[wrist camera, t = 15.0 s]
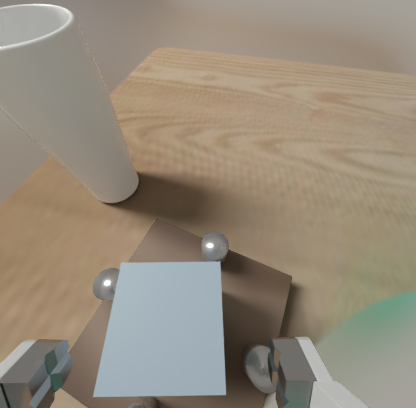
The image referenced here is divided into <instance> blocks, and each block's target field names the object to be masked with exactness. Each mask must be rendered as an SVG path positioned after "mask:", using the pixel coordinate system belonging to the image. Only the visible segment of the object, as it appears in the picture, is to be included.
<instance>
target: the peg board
mask: <svg viewBox="0 0 416 408" xmlns="http://www.w3.org/2000/svg"><path fill="white" fill-rule="evenodd" d="M228 247H229V244H228V240H227V238H226V237H225V236H224V235H223V234H221V233H219V232H211V233H208V234H207V235H205V236H204V238H201V237H198V236H196V235H193V234H191V233H189V232H186V231H184V230H182V229H179V228H177V227H175V226H172V225H170V224H168V223H165V222H163V221H161V220H158V219H156V220H155V222H154V223H153V225H152V226H151V228H150V229H149V231H148V233H147V234H146V236H145V237H144V239H143V240H142V242H141V243H140V245H139V246H138V248H137V249H136V251H135V252H134V254H133V255H132V257H131V259H130V260H129V262H128V263H144V262H220V265H221V288H222V311H223V335H224V358H225V381H226V395H198V396H128V397H93V394H94V389H95V385H96V380H97V375H98V370H99V366H100V361H101V356H102V352H103V347H104V342H105V337H106V333H107V328H108V323H109V319H110V314H111V309H112V304H113V300H114V295H115V290H116V286H117V281H118V276H119V271H120V270H118V269H115V268H109V269H106V270H104V271H103V272H101V273H100V274H99V275H98V276H97V278H96V279H95V281H94V285H93V291H94V294H95V296H96V297H97V298H99V299H101V300H103V301H102V303H101V304H100V306H99V307H98V309H97V310H96V312H95V314H94V315H93V317H92V318H91V320H90V321H89V323H88V324H87V326H86V327H85V329H84V330H83V332H82V333H81V335H80V336H79V338H78V340H77V341H76V343H75V344H74V346H73V347H72V349H71V350H70V352H69V354H70V355H71V356H72V368H71V371H70V374H69V377H68V378H67V380H66V382H65V383H64V385H63V386H62V387H61V388H62V389H63V390H64V391H66V392H67V393H68V394H70V395H71V396H72V397H74V398H75V399H77V400H78V401H79V402H81V403H82V404H83V405H85V406H86V407H88V408H263V405H264V401H265V396H266V393H274V392H276V388H275V387H274V386H273V385H272V383H271V379H270V375H269V370H268V353H269V352H270V348H269V345H268V344H269V339H270V337H279V334H280V329H281V325H282V320H283V316H284V311H285V307H286V302H287V298H288V293H289V289H290V284H291V280H292V276H290V275H287V274H285V273H283V272H280V271H278V270H275V269H273V268H271V267H268V266H266V265H264V264H261V263H259V262H257V261H254V260H252V259H250V258H247V257H245V256H243V255H240V254H238V253H236V252H233V251H231V250H229V249H228Z"/></svg>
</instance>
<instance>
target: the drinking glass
mask: <svg viewBox="0 0 416 408" xmlns="http://www.w3.org/2000/svg"><path fill="white" fill-rule="evenodd" d="M0 109H1V110H2V111H3V112H4V113H5V114H6V115H7V116H8V117H9V118H10V119H11V120H12V121H13V122H14V123H15V124H16V125H17V126H19V127H20V128H21V129H22V130H23V131H24V132H25V133H26V134H27V135H29V137H31V138H32V139H33V140H34V141H35V142H36V143H37V144H38V145H40V146H41V147H42V148H43V149H44V150H45V151H47V153H48V154H50V155H51V156H52V157H53V158H54V159H55V160H56V161H57V162H58V163H60V164H61V165H62V166H63V167H64V168H65V169H66V170H67V171H68V172H70V173H71V174H72V175H73V176H74V177H75V178H76V179H77V180H78V181H79V182H81V183H82V184H83V185H84V186H85V187H86V188H87V189H88V190H89V191H90V192H91V193H92V195H93V196H94V197H95V198H96V199H98V200H100V201H102V202H105V203H117V202H121V201H123V200H125V199H127V198H129V197H130V196H131V195H132V194H133V193H134V192H135V191H136V189H137V187H138V183H139V178H138V174H137V172H136V170H135V168H134V166H133V163H132V160H131V157H130V154H129V152H128V149H127V146H126V143H125V140H124V137H123V134H122V131H121V128H120V125H119V122H118V119H117V116H116V113H115V110H114V107H113V104H112V101H111V98H110V96H109V93H108V90H107V87H106V85H105V82H104V79H103V77H102V74H101V72H100V70H99V67H98V65H97V63H96V60H95V58H94V56H93V54H92V51H91V49H90V47H89V45H88V43H87V41H86V39H85V36H84V34H83V33H82V30H81V28H80V26H79V24H78V22H77V20H76V18H75V16H74V14H73V13H72V12H71V11H69V10H68V9H66V8H64V7H61V6H56V5H49V4H24V5H14V6H7V7H1V8H0Z"/></svg>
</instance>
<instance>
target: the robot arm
mask: <svg viewBox="0 0 416 408" xmlns="http://www.w3.org/2000/svg"><path fill="white" fill-rule="evenodd" d="M268 345H269V348H270V352H269V353H268V370H269V375H270V379H271V383H272V385H273V386H274V387H275V388H276V401H277V405H278V408H369V407H368V406H367V405H366V404H365V403H363V402H362V401H361V400H360V399H358V398H357V397H356V396H355V395H354V394H353V393H352V392H350V391H349V390H348V389H347V388H346V387H344V386H343V385H342V384H341V383H340V382H338V381H334V380H333V379H332V377H331V375H330V374H329V372H328V370H327V368H326V366H325V365H324V363H323V361H322V359H321V357H320V356H319V354H318V352H317V350H316V348H315V347H314V345H313V343H312V341H311V340H310V338H308V337H270V339H269V344H268ZM68 348H69V344H68V340H48V339H27V340H26V341H24V342H22V343H21V344H20V345H19V346H18V347H17V348H16V349H15V350H14V351H13V352H12V353H11V354H10V355H9V356H8V357H7V358H6V359H5V360H4V361H3V362H2V363H1V364H0V408H49V407H50V406H51V404H52V403H53V401H54V395H55V392H56V391H57V390H58V389H60V388H61V387H62V386H63V385H64V383H65V382H66V380H67V378H68V377H69V374H70V371H71V368H72V356H71V355H70V354H69V353H68V352H67V350H68Z"/></svg>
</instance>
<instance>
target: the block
mask: <svg viewBox="0 0 416 408" xmlns="http://www.w3.org/2000/svg"><path fill="white" fill-rule="evenodd" d="M198 395H226V381H225V358H224V335H223V311H222V288H221V265H220V262H144V263H121V267H120V271H119V276H118V281H117V286H116V290H115V295H114V300H113V304H112V309H111V314H110V319H109V323H108V328H107V333H106V337H105V342H104V347H103V352H102V356H101V361H100V366H99V370H98V375H97V380H96V385H95V389H94V394H93V397H128V396H198Z"/></svg>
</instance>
